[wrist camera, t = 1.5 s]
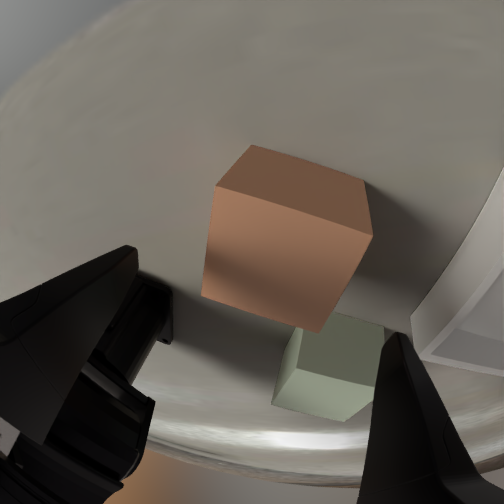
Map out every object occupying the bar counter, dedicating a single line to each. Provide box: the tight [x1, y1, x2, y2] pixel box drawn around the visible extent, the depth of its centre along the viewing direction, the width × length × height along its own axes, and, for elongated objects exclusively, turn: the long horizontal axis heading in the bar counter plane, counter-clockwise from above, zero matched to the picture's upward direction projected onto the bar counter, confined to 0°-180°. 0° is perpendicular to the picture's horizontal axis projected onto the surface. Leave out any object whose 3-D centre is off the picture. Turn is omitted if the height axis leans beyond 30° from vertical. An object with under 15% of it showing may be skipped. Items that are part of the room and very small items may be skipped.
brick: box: [201, 145, 373, 334], centre depth 12 cm, size 5×5×4 cm
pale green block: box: [271, 312, 385, 422], centre depth 17 cm, size 5×5×4 cm
